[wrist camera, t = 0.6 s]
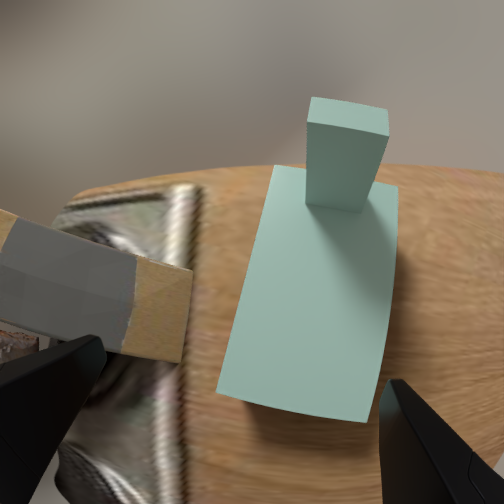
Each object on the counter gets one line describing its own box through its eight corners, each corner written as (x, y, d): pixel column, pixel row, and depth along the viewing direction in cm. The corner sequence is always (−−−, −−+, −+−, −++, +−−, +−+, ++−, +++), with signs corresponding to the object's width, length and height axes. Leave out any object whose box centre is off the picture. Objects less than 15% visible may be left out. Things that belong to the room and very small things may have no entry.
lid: (361, 417, 16) (414, 464, 7) (221, 389, 18) (159, 414, 9) (392, 197, 21) (432, 111, 12) (276, 176, 23) (263, 81, 14)
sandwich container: (183, 367, 22) (48, 365, 8) (57, 334, 25) (-58, 300, 11) (196, 268, 25) (96, 169, 11) (72, 258, 28) (-29, 195, 14)
